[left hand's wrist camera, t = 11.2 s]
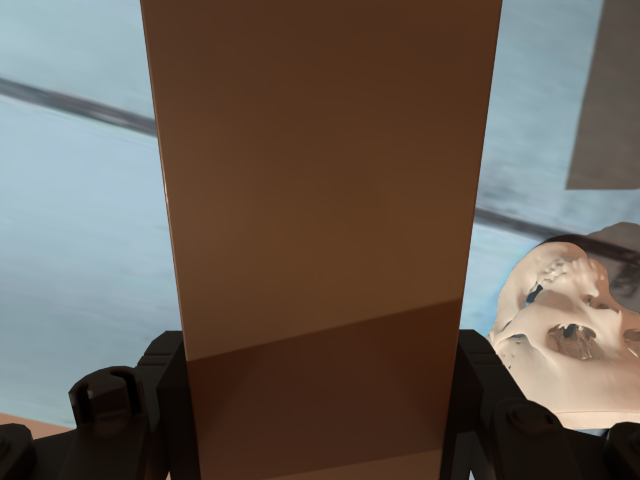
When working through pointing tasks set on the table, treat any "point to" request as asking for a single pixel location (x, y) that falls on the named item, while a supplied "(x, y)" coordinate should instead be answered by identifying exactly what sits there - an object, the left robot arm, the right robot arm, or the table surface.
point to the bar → (320, 223)
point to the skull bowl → (569, 339)
